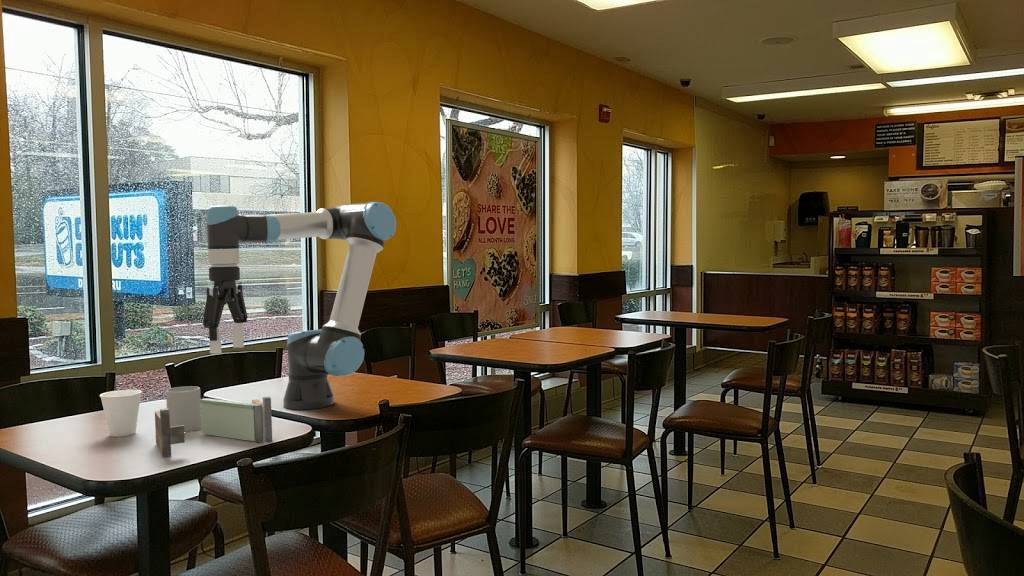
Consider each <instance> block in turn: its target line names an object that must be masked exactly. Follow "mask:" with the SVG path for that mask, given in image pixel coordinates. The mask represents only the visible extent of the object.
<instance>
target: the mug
mask: <svg viewBox="0 0 1024 576" xmlns="http://www.w3.org/2000/svg"><path fill="white" fill-rule="evenodd" d="M165 393H166V394H165V398H166V400H165V401H166V408H168V409H169V414H170V427H172V426H180V425H184V432H186V433H192V432H196V431H199V430H202V421H201V403H200V399H202V398H201V396H202V395H201V388H200V387H199V386H192V385H190V386H188V385H187V386H177V387H171V388H168V389H166V391H165ZM195 430H196V431H195ZM191 431H192V432H191Z"/></svg>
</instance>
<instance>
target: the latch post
mask: <svg viewBox="0 0 1024 576" xmlns="http://www.w3.org/2000/svg"><path fill="white" fill-rule="evenodd" d="M154 422H155V423H154V424H155V425H154V426H155V444H156V446H157V448H158V449H159V451H160V452H161V457H162V458H167V457H172V445H176V444H184V443H186V440H185V438H186V437H185V435H186V434H185V433H184V425H180V426H172V427H170V414H169V409H168V408H167V407H166V408H159V410H156V411H154Z"/></svg>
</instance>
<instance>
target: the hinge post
mask: <svg viewBox="0 0 1024 576" xmlns="http://www.w3.org/2000/svg"><path fill="white" fill-rule="evenodd" d="M251 403H252V404H258V405H262V415H263V442H265V443H270V442H273V420H272V397H271V396H263V397H262V401H260V400H259V399H252V400H251Z"/></svg>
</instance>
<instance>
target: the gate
mask: <svg viewBox="0 0 1024 576" xmlns="http://www.w3.org/2000/svg"><path fill="white" fill-rule="evenodd" d="M200 403H201V421H202V428H201V434H202V435H208V436H209V435H210V436H216V437H222V438H224V437H225V438H229V439H231V438H232V439H236V440H243V441H251V442H256V443H261V442H264V439H263V415H262V405H258V404H252V402H251V403H250V402H241V401H232V400H225V399H215V398H201V399H200Z"/></svg>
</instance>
